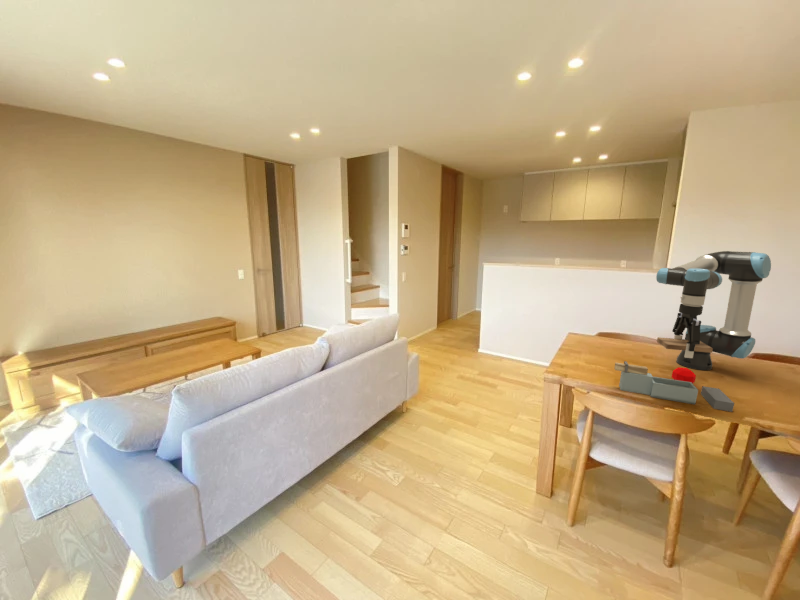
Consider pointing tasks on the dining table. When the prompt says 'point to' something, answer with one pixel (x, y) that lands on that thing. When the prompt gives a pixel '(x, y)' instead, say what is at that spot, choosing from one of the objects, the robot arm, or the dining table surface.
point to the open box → (673, 390)
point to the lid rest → (717, 399)
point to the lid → (682, 345)
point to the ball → (683, 375)
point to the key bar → (631, 368)
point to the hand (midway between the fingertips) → (682, 353)
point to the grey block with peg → (635, 381)
